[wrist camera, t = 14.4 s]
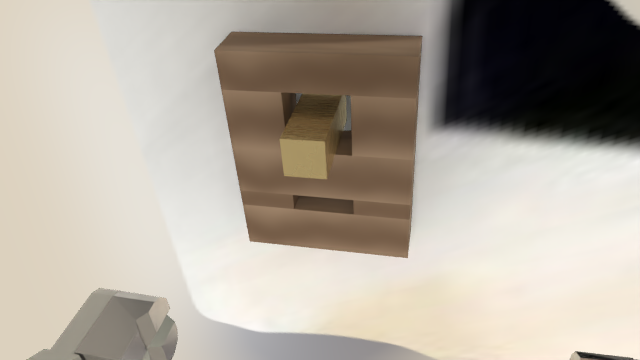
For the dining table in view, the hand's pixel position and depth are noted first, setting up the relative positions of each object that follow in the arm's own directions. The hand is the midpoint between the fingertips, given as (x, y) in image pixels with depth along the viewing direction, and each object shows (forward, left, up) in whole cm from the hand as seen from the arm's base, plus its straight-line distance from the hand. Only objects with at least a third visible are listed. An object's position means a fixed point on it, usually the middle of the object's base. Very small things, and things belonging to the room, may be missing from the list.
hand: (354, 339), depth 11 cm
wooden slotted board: (+14, -7, -29) cm, 33 cm away
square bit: (+10, -7, -29) cm, 32 cm away
